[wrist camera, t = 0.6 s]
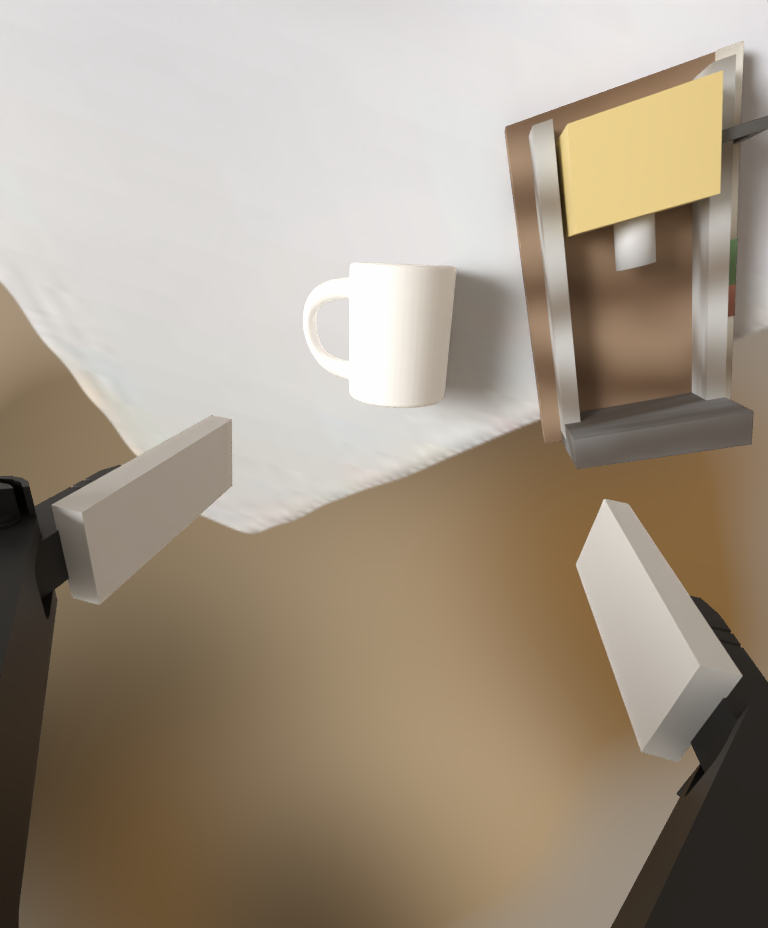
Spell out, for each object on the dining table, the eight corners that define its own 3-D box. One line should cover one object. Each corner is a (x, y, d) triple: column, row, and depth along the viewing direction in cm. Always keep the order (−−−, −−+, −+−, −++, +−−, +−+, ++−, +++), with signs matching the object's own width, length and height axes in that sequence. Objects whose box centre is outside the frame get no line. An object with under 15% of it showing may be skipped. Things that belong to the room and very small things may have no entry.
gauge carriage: (554, 144, 30) (567, 123, 26) (749, 78, 26) (798, 44, 23) (567, 281, 33) (580, 282, 29) (743, 236, 30) (784, 231, 26)
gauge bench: (504, 131, 31) (512, 94, 24) (731, 51, 27) (811, -18, 21) (543, 439, 39) (557, 471, 33) (721, 410, 36) (775, 440, 29)
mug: (458, 267, 35) (454, 265, 28) (446, 387, 39) (440, 412, 32) (318, 262, 37) (280, 259, 30) (321, 377, 41) (288, 399, 34)
